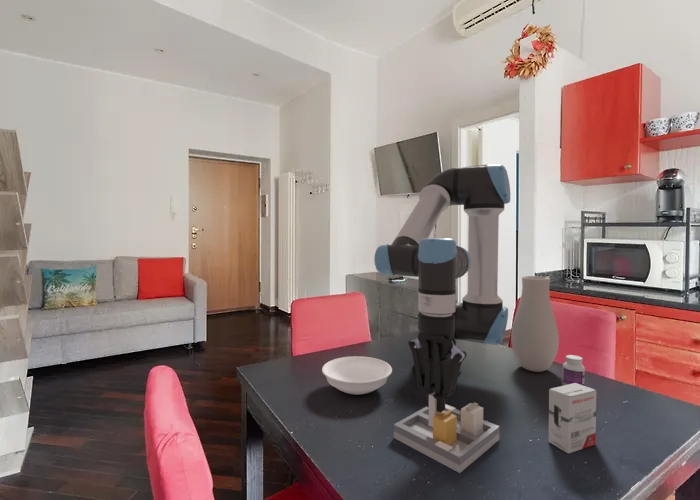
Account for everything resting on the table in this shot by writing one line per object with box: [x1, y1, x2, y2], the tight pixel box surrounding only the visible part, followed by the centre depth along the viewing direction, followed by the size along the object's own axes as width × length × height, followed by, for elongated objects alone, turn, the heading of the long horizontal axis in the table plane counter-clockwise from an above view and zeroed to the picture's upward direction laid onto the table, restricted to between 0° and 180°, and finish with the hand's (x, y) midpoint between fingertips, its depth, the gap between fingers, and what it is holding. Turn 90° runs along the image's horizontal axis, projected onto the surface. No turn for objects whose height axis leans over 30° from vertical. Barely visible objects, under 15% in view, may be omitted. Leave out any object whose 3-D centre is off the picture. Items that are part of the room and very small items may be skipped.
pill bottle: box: [561, 354, 586, 386], centre depth 103 cm, size 5×5×10 cm
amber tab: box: [433, 410, 457, 446], centre depth 75 cm, size 3×4×6 cm
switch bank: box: [393, 403, 500, 474], centre depth 79 cm, size 16×16×3 cm
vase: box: [510, 275, 560, 373], centre depth 119 cm, size 14×14×30 cm
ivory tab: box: [460, 402, 484, 436], centre depth 79 cm, size 3×4×6 cm
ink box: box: [548, 383, 597, 455], centre depth 77 cm, size 8×5×12 cm, turn 112°
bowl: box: [321, 355, 393, 396], centre depth 104 cm, size 20×20×6 cm
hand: (435, 424), depth 77 cm, fingers closed
